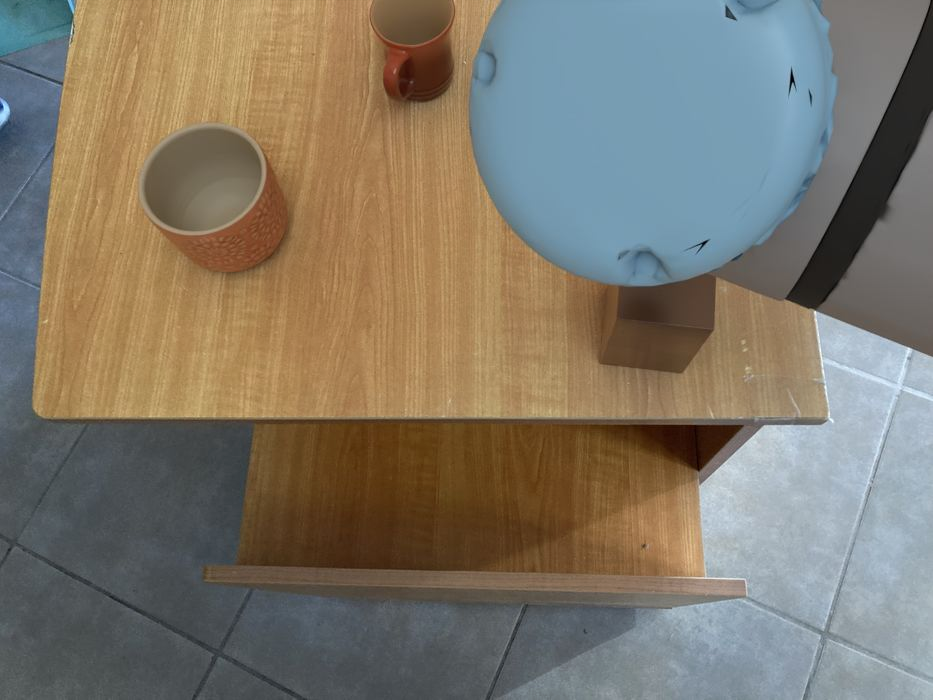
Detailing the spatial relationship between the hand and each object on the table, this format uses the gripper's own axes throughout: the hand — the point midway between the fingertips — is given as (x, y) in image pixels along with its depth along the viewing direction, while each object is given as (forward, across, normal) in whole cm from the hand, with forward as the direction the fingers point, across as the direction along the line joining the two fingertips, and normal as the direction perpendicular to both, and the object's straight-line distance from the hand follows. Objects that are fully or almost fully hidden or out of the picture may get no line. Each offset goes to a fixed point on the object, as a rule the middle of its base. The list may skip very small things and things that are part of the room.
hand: (763, 66), depth 48 cm
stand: (+18, +1, -27) cm, 32 cm away
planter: (+10, -41, -35) cm, 55 cm away
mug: (+27, -34, -18) cm, 47 cm away
